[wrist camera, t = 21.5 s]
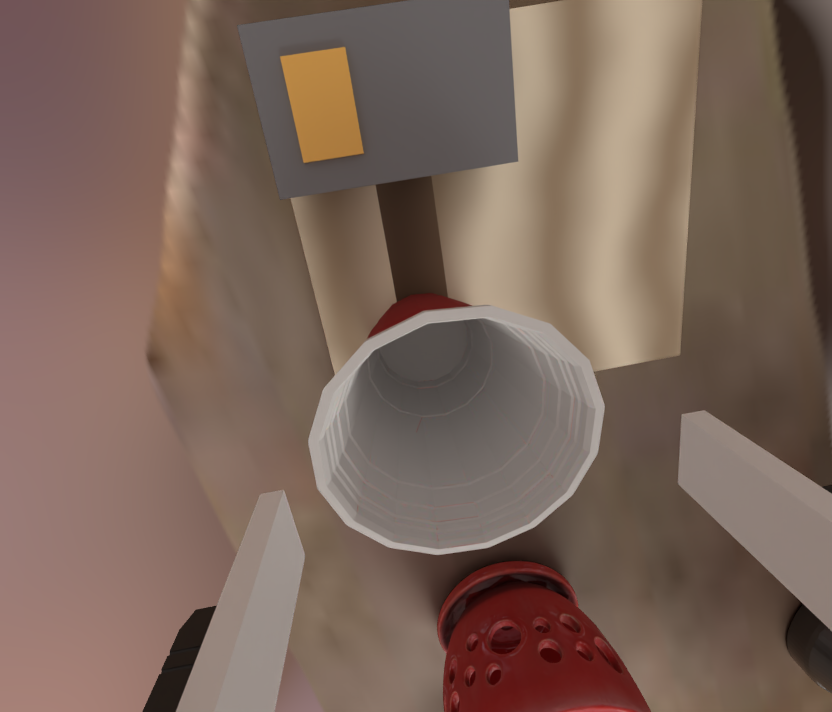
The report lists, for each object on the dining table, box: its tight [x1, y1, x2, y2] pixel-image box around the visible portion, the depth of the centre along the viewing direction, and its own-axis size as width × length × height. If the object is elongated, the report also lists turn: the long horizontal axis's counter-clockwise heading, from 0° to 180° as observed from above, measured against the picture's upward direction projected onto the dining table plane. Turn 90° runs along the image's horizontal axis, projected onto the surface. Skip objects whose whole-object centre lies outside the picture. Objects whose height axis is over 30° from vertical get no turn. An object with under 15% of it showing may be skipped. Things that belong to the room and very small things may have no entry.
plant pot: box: [437, 561, 651, 712], centre depth 32 cm, size 13×13×12 cm
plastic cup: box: [308, 293, 605, 555], centre depth 21 cm, size 11×11×12 cm
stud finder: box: [237, 0, 518, 200], centre depth 20 cm, size 10×6×6 cm, turn 98°
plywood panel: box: [291, 0, 702, 375], centre depth 26 cm, size 22×20×2 cm
